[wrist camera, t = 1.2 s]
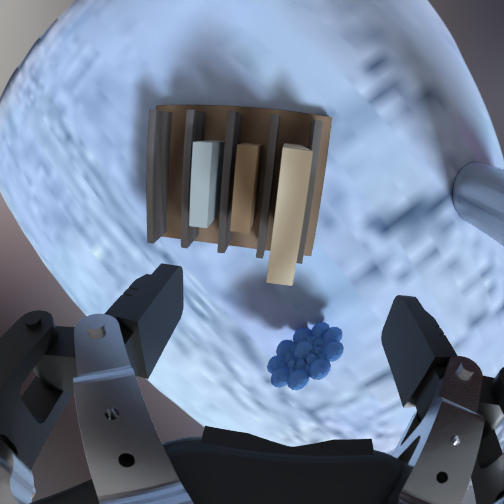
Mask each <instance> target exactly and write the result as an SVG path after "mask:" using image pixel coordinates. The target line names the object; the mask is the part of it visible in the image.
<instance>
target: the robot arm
mask: <svg viewBox="0 0 504 504" xmlns="http://www.w3.org/2000/svg"><path fill="white" fill-rule="evenodd" d="M453 202H454V206H455V209H456V211H457V213H458V214H459V216H460V217H461V218H462V219H463V220H465V221H467V222H468V223H470V224H471V225H473V226H475V227H476V228H478V229H479V230H481V231H482V232H484V233H485V234H487V235H488V236H490V237H491V238H493V239H494V240H496V241H497V242H499V243H500V244H502V245H503V246H504V169H500V168H497V167H493V166H490V165H486V164H482V163H477V162H473V163H469V164H467V165H465V166H464V167H463V168H462V169H461V170H460V172H459V173H458V175H457V177H456V179H455V182H454V186H453ZM182 312H183V270H182V267H181V266H175V265H169V264H160V265H159V267H158V268H157V269H156V270H155V271H154V272H153V273H152V274H151V275H149V274H146V275H144V276H142V277H140V278H138V279H136V280H135V281H134V282H133V283H132V284H131V285H130V286H129V289H127V290H126V291H125V292H124V293H123V295H121V296H120V297H119V298H118V299H117V301H116V302H115V303H114V304H113V305H112V306H111V307H110V308H109V309H108V311H107V312H106V313H105V314H93V315H89V316H86V317H84V318H83V319H81V320H80V321H79V322H78V323H77V324H76V326H75V327H62V326H55V323H54V320H53V317H52V315H51V314H50V313H48V312H46V311H40V310H39V311H32V312H29V313H27V314H25V315H23V316H22V317H21V318H20V319H19V320H18V321H17V322H16V323H15V324H14V325H13V326H12V327H11V328H10V329H9V330H8V331H7V332H6V333H5V334H4V335H3V336H2V337H1V338H0V504H462V501H463V498H464V496H465V493H466V490H467V487H468V484H469V481H470V478H471V479H472V484H473V488H474V493H475V499H476V504H504V453H502V450H501V447H500V444H499V441H498V439H497V436H496V433H495V431H494V429H495V427H496V426H497V425H498V424H499V423H500V422H501V421H502V420H503V418H504V367H503V368H502V369H501V370H500V371H499V373H498V374H497V376H496V377H495V378H492V377H487V376H483V374H482V371H481V369H480V367H479V366H478V365H477V364H476V363H475V362H474V361H472V360H471V359H469V358H466V357H463V356H457V354H456V353H455V351H454V349H453V347H452V346H451V344H450V342H449V341H448V339H447V338H446V336H445V335H444V333H443V331H442V330H441V328H439V327H440V326H439V325H438V323H437V322H436V320H435V319H434V317H432V316H431V315H430V314H429V313H428V312H427V311H425V310H424V308H423V307H422V305H421V304H420V302H419V301H418V299H417V298H416V297H412V296H402V295H398V296H396V297H395V299H394V301H393V304H392V307H391V309H390V312H389V315H388V317H387V320H386V322H385V325H384V327H383V331H382V337H381V340H382V345H383V348H384V351H385V354H386V357H387V359H388V362H389V365H390V368H391V371H392V374H393V377H394V380H395V383H396V386H397V389H398V392H399V396H400V399H401V402H402V405H403V408H407V407H416V409H417V411H416V412H415V413H414V415H413V416H412V418H411V420H410V422H409V424H408V426H407V428H406V430H405V432H404V434H403V436H402V438H401V439H400V441H399V443H398V445H397V447H396V448H395V450H394V452H393V453H392V455H389V454H386V453H384V452H380V451H376V450H373V444H372V439H350V440H330V441H325V442H320V443H314V444H309V445H303V446H296V447H290V446H285V445H282V444H279V443H276V442H272V441H269V440H266V439H263V438H260V437H257V436H254V435H251V434H249V433H243V432H237V431H230V430H225V429H219V428H214V427H209V426H205V428H204V432H203V435H202V437H187V438H181V439H176V440H172V441H169V442H165V443H163V444H162V443H161V441H160V438H159V436H158V434H157V431H156V429H155V426H154V424H153V422H152V419H151V417H150V414H149V412H148V409H147V407H146V404H145V401H144V399H143V396H142V393H141V390H140V388H139V385H138V382H137V379H136V376H139V377H143V378H146V379H148V378H149V376H150V375H151V373H152V371H153V369H154V367H155V365H156V363H157V361H158V359H159V357H160V356H161V354H162V352H163V350H164V348H165V346H166V344H167V342H168V341H169V339H170V337H171V335H172V333H173V331H174V329H175V328H176V326H177V324H178V322H179V320H180V318H181V315H182ZM33 369H34V371H35V373H36V375H37V376H36V377H35V378H34V380H33V381H32V383H31V384H30V385H29V387H28V388H27V389H26V391H25V392H24V394H23V395H22V397H21V396H20V388H21V385H22V383H23V382H24V381H25V379H26V378H27V377H28V375H29V374H30V373H31V371H32V370H33ZM73 392H74V395H75V402H76V408H77V415H78V421H79V426H80V431H81V436H82V441H83V445H84V450H85V454H86V458H87V462H88V466H89V470H90V473H91V477H92V479H90V480H88V481H86V482H84V483H81V484H79V485H77V486H74V487H72V488H69V489H67V490H64V491H62V492H59V493H56V494H54V495H51V496H48V497H45V498H43V499H40V500H37V501H34V502H32V497H34V495H35V488H34V479H33V475H32V473H31V471H30V470H31V468H32V466H33V464H34V462H35V461H36V459H37V457H38V455H39V453H40V451H41V449H42V447H43V445H44V443H45V441H46V439H47V438H48V436H49V434H50V432H51V430H52V429H53V427H54V425H55V423H56V421H57V420H58V418H59V416H60V415H61V413H62V411H63V409H64V408H65V406H66V404H67V403H68V401H69V399H70V397H71V396H72V394H73Z"/></svg>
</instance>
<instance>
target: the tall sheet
mask: <svg viewBox="0 0 504 504" xmlns="http://www.w3.org/2000/svg"><path fill="white" fill-rule="evenodd" d="M312 155H313V151H311V150H309V149H308V148H306V147H304V146H302V145H297V144H289V143H284V146H283V150H282V159H281V168H280V176H279V185H278V193H277V202H276V210H275V218H274V226H273V234H272V242H271V250H270V258H269V265H268V273H267V281H266V283H273V284H281V285H289V286H292V285H293V280H294V274H295V268H296V262H297V257H298V251H299V245H300V238H301V232H302V226H303V219H304V213H305V206H306V199H307V192H308V185H309V178H310V171H311V163H312Z"/></svg>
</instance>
